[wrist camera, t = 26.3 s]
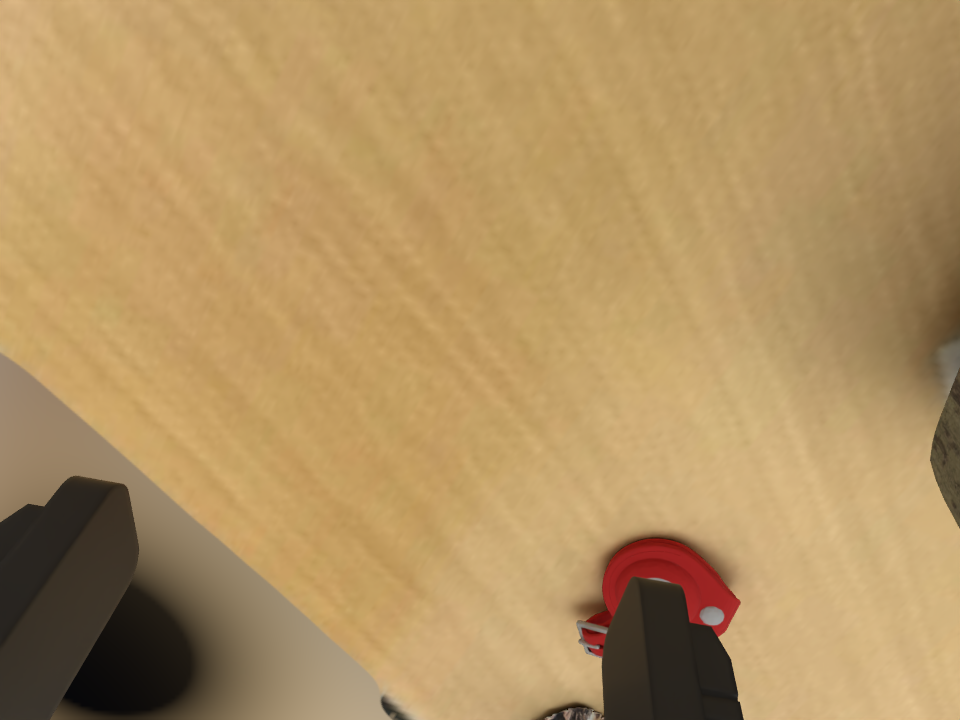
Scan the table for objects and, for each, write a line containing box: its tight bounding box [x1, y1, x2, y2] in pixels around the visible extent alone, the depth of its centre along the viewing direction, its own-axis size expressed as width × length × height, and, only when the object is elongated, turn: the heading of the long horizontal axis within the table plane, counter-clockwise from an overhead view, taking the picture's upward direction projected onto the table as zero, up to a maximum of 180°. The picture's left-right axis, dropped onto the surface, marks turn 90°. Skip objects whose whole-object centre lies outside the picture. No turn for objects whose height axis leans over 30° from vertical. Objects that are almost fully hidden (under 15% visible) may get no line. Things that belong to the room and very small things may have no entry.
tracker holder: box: [576, 538, 740, 658], centre depth 53 cm, size 12×4×10 cm
